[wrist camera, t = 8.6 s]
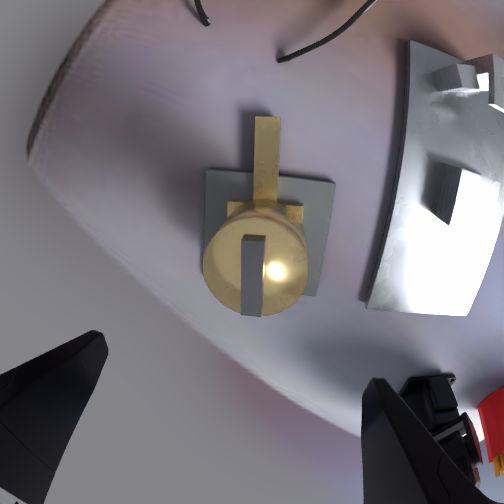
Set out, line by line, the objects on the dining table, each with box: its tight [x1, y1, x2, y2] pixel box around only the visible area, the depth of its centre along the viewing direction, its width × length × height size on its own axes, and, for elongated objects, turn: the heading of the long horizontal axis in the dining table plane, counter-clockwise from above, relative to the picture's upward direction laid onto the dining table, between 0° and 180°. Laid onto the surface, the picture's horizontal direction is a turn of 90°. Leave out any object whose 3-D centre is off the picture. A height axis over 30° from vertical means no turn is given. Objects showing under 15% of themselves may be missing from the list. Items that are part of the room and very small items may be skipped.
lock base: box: [365, 40, 504, 316], centre depth 13 cm, size 19×10×5 cm, turn 176°
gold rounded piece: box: [203, 116, 308, 317], centre depth 15 cm, size 10×5×6 cm, turn 178°
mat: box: [205, 169, 336, 296], centre depth 19 cm, size 8×8×1 cm
